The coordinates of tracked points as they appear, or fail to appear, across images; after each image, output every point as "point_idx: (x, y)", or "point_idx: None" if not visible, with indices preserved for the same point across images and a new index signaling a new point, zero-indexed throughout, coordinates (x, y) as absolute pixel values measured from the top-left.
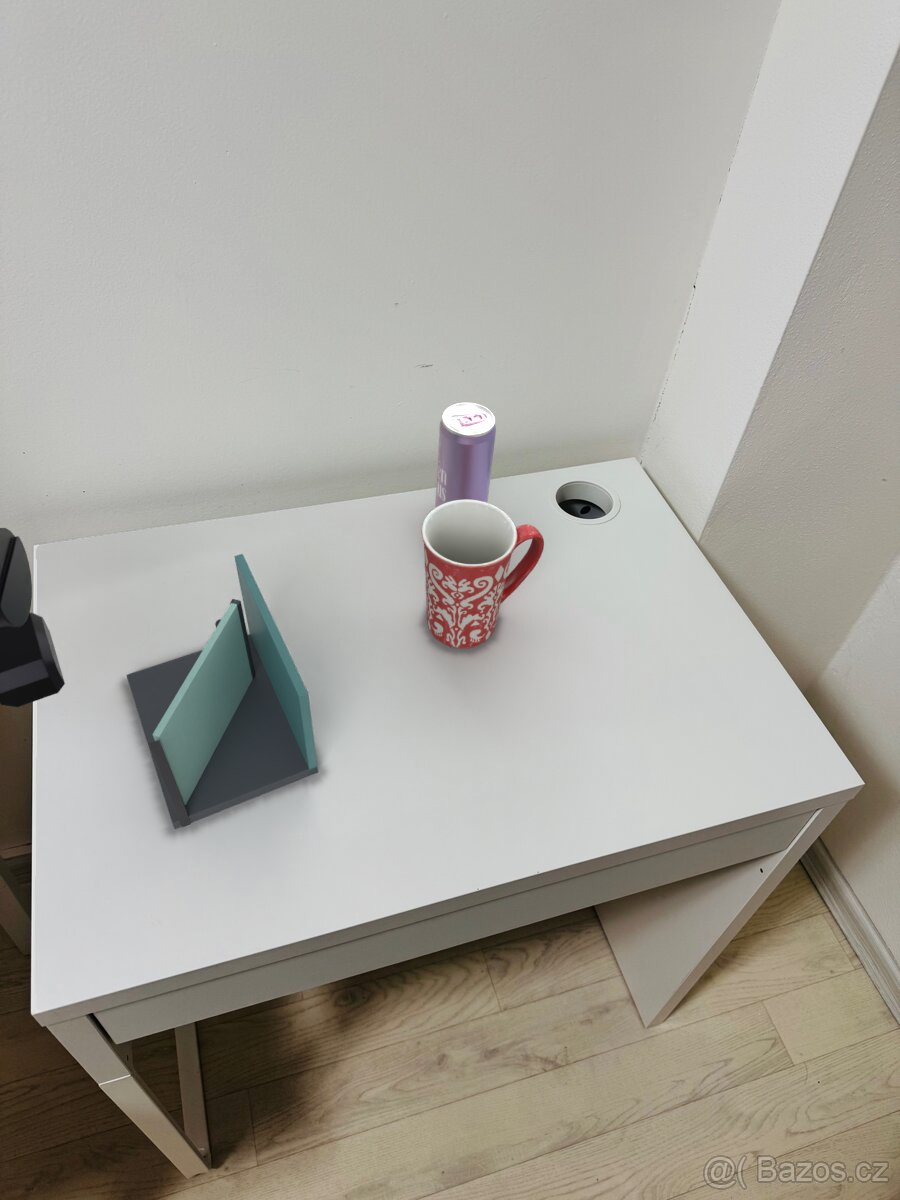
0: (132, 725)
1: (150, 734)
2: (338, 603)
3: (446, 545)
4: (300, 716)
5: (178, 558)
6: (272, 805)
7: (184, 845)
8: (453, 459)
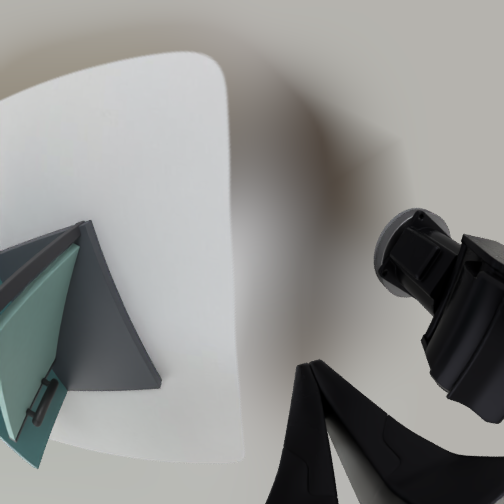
0: (150, 342)
1: (123, 330)
2: None
3: None
4: None
5: (146, 446)
6: (17, 228)
7: (81, 199)
8: None
